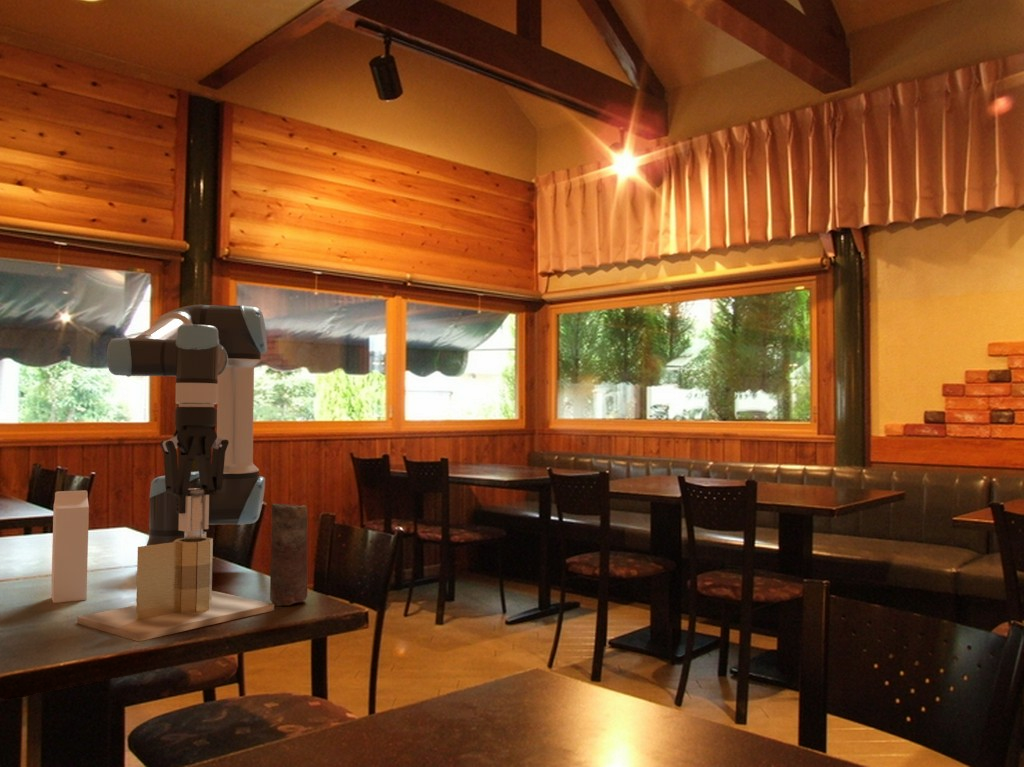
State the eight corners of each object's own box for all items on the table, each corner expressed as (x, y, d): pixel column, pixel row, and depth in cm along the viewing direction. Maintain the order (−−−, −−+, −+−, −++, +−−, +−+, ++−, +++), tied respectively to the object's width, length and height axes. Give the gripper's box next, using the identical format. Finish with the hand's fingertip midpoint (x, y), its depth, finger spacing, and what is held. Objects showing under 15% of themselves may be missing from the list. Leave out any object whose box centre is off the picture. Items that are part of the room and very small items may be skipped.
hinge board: (211, 596, 175) (211, 590, 175) (274, 610, 163) (274, 604, 163) (77, 623, 152) (77, 616, 152) (138, 641, 140) (138, 634, 140)
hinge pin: (195, 560, 161) (197, 487, 162) (207, 562, 159) (208, 489, 160) (178, 563, 159) (180, 489, 159) (190, 565, 156) (191, 490, 157)
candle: (268, 600, 172) (270, 502, 173) (304, 597, 175) (306, 501, 175) (271, 608, 165) (273, 505, 166) (309, 605, 168) (311, 504, 168)
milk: (86, 600, 171) (90, 491, 171) (52, 603, 167) (56, 492, 168) (83, 594, 176) (86, 488, 176) (50, 597, 172) (53, 490, 173)
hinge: (203, 595, 170) (205, 531, 170) (238, 603, 163) (239, 536, 164) (112, 613, 154) (114, 542, 155) (147, 623, 148) (149, 548, 148)
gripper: (220, 406, 169) (218, 523, 168) (145, 405, 156) (142, 532, 155) (244, 406, 164) (241, 526, 164) (168, 405, 151) (165, 536, 150)
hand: (193, 529), depth 159 cm, fingers closed on hinge pin, 3 cm apart
